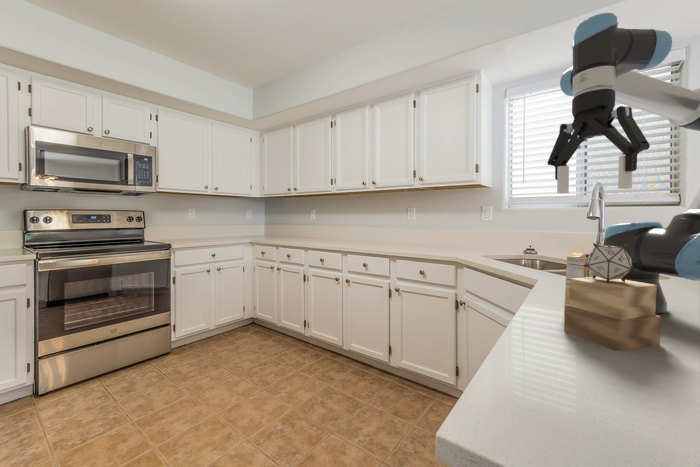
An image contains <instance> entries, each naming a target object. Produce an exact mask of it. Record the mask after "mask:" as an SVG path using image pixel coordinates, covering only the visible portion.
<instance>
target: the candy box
mask: <svg viewBox="0 0 700 467" xmlns="http://www.w3.org/2000/svg"><path fill="white" fill-rule="evenodd" d="M586 254H587V255H590V254H589V253H579V252H572V253H569V255H567V256H566V268H565V270H566V271H565V289H564V291H565V292H564V306H565V305H567V304H569V294H570V279H572V278H583V277H590V269H589V268H588V266H587V267H583V265H585V264H586V265H587V262H588V257H586V256H585V255H586ZM563 315H564V316H565V307H564V312H563Z"/></svg>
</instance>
